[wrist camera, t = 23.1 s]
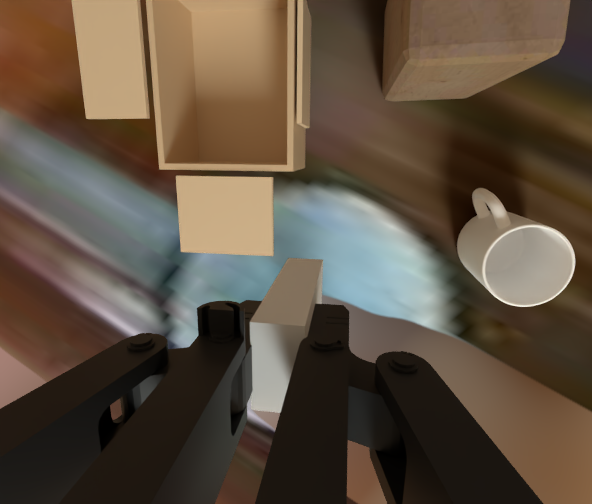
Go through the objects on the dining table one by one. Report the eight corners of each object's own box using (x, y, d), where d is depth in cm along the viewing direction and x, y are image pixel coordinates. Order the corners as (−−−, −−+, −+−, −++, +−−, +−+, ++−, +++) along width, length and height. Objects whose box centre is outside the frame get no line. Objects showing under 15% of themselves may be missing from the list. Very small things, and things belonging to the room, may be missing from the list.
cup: (470, 285, 48) (501, 319, 38) (432, 200, 46) (453, 213, 36) (538, 258, 46) (588, 286, 36) (500, 168, 44) (542, 172, 34)
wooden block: (381, 102, 44) (403, 64, 25) (384, 5, 42) (412, -121, 23) (472, 99, 43) (570, 55, 24) (481, -2, 40) (598, -143, 21)
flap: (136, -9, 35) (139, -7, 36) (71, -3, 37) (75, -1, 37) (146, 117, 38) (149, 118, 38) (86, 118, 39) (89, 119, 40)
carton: (186, 0, 44) (140, -42, 35) (314, -6, 42) (303, -52, 33) (195, 166, 49) (157, 169, 40) (311, 167, 47) (301, 171, 38)
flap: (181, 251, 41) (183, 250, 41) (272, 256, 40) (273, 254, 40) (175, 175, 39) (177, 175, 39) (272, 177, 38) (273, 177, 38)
